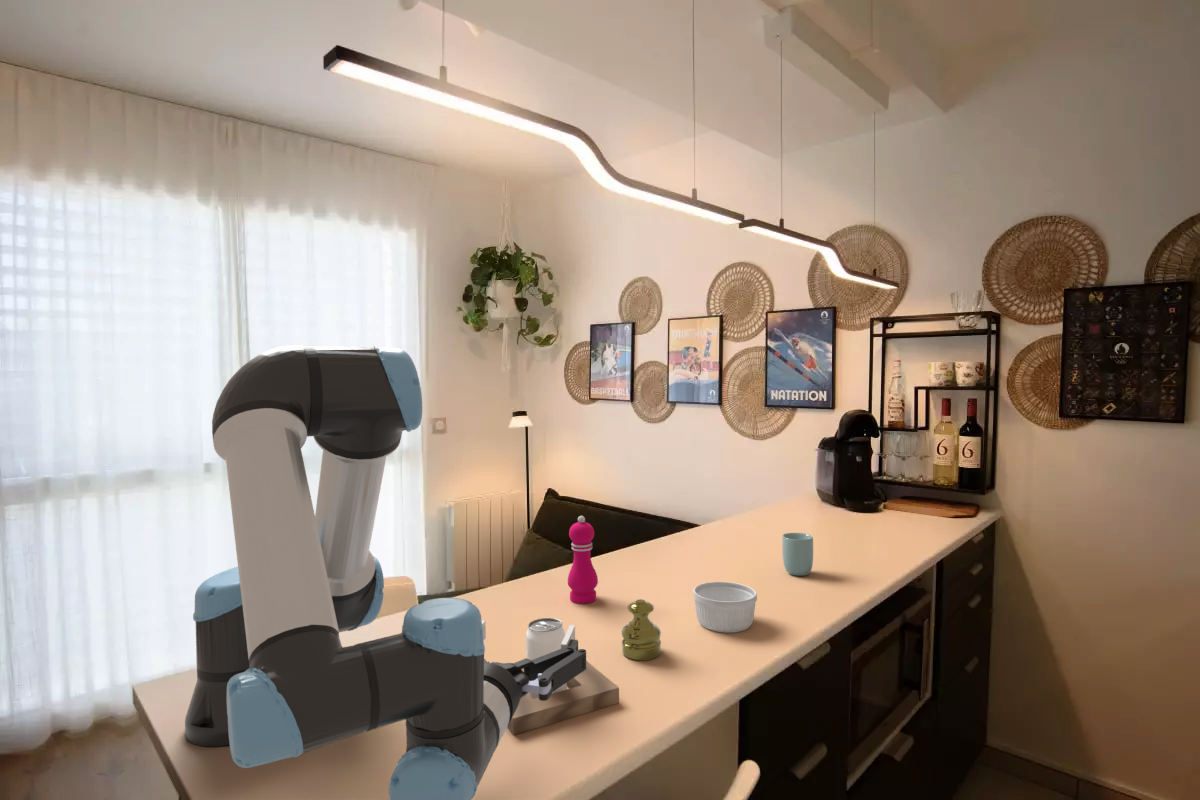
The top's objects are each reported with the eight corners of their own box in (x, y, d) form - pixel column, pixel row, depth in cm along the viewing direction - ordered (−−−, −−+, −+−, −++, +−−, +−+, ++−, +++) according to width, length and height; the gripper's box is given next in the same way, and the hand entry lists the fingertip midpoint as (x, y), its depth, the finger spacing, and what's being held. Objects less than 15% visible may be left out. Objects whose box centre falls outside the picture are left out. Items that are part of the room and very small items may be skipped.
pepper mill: (571, 606, 144) (569, 520, 144) (565, 596, 151) (563, 514, 151) (601, 602, 146) (600, 517, 146) (593, 592, 153) (592, 511, 153)
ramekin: (758, 614, 137) (757, 583, 137) (756, 638, 124) (756, 603, 124) (697, 609, 141) (696, 579, 140) (689, 632, 128) (689, 599, 128)
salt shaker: (616, 648, 121) (615, 597, 121) (650, 642, 124) (649, 592, 123) (631, 664, 114) (630, 610, 114) (668, 657, 117) (667, 604, 116)
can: (547, 683, 108) (545, 614, 107) (575, 694, 103) (573, 622, 103) (519, 698, 103) (517, 626, 102) (547, 710, 98) (545, 635, 98)
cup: (809, 569, 168) (809, 532, 168) (816, 578, 160) (816, 539, 160) (780, 569, 169) (779, 532, 169) (785, 578, 161) (785, 539, 161)
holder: (513, 735, 92) (513, 718, 92) (479, 689, 106) (479, 674, 106) (619, 702, 100) (618, 687, 100) (575, 664, 114) (574, 650, 114)
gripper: (378, 732, 73) (447, 651, 94) (587, 749, 70) (611, 661, 91) (376, 670, 73) (446, 602, 94) (586, 684, 69) (610, 610, 90)
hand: (527, 631), depth 92 cm, fingers open, 13 cm apart
